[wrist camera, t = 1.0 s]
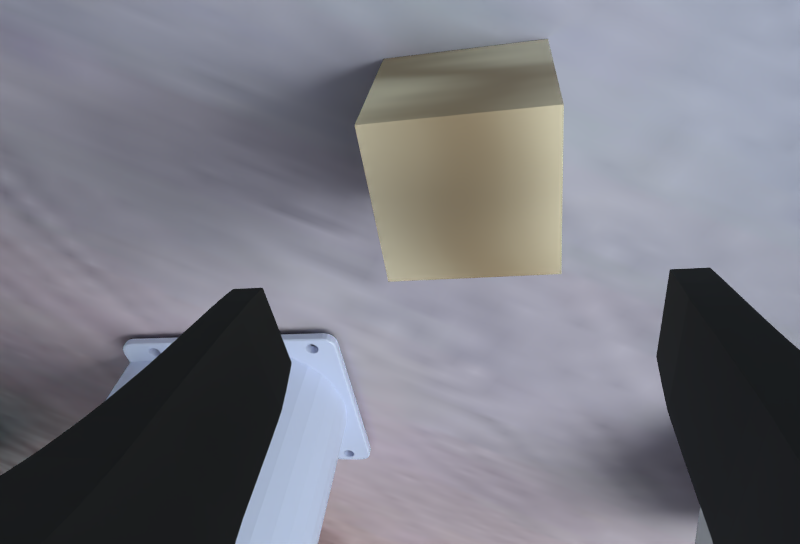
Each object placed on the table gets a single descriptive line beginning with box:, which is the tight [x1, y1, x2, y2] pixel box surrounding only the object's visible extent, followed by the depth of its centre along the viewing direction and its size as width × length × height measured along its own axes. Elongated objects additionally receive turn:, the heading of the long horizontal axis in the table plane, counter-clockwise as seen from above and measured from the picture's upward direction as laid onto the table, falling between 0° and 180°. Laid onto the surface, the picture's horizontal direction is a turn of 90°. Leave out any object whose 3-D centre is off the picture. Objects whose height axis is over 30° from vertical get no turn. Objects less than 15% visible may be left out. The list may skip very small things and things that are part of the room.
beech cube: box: [355, 39, 564, 282], centre depth 16 cm, size 4×4×4 cm
